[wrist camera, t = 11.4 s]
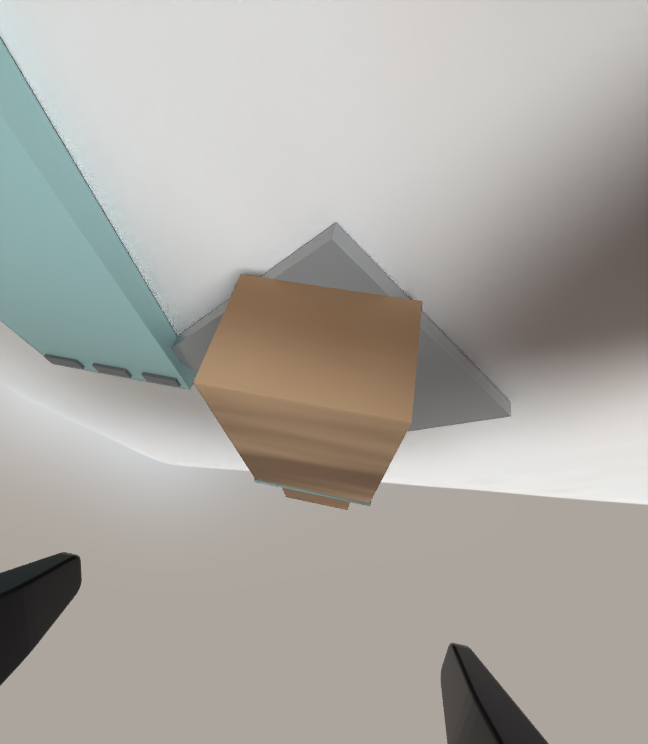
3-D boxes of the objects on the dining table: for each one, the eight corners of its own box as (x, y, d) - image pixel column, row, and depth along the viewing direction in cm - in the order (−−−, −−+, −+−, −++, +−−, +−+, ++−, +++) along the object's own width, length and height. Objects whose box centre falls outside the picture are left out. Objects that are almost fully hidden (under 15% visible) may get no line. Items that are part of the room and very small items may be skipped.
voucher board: (-448, -123, 6) (-541, -109, 6) (-85, -104, 5) (-150, -87, 5) (64, 347, 18) (51, 366, 18) (197, 371, 18) (188, 392, 17)
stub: (360, 523, 20) (413, 424, 8) (269, 504, 20) (190, 383, 8) (369, 459, 22) (424, 300, 10) (285, 443, 22) (239, 272, 10)
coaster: (168, 342, 16) (162, 353, 15) (336, 222, 9) (331, 239, 9) (329, 432, 21) (327, 442, 21) (510, 402, 14) (511, 415, 14)
